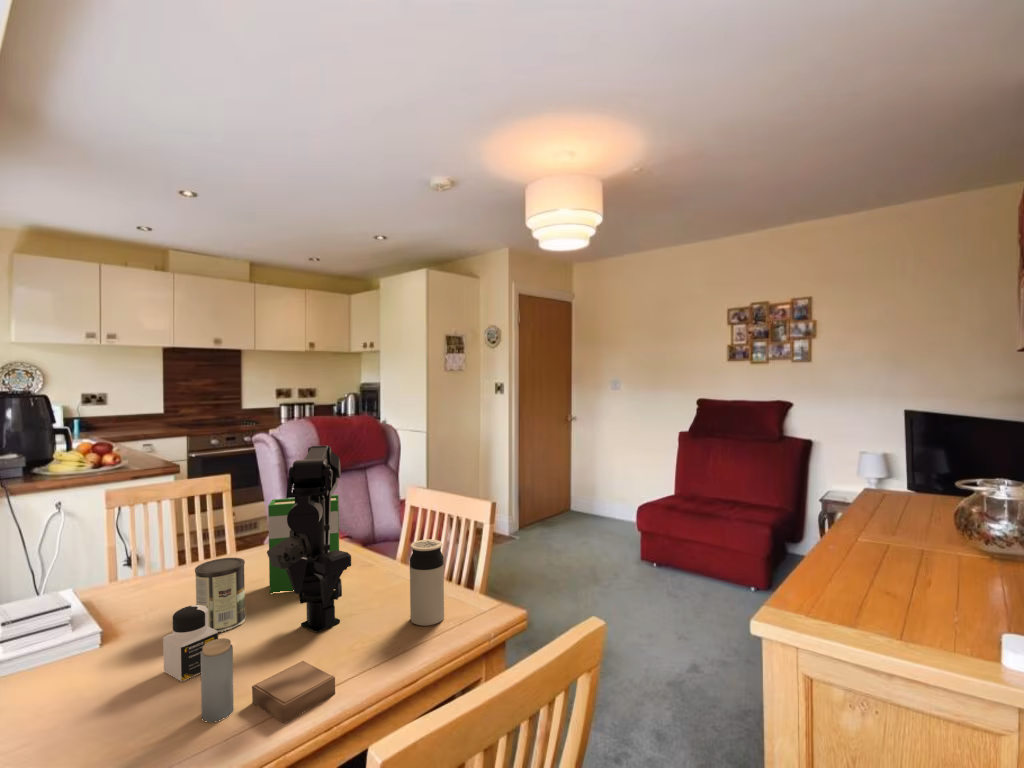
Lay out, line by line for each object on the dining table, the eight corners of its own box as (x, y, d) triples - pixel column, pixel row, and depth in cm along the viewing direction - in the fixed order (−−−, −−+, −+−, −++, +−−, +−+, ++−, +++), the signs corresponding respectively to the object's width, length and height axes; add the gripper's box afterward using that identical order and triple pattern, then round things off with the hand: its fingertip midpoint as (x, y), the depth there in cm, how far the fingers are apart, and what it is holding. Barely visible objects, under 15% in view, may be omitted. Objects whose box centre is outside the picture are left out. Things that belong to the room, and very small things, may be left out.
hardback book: (339, 576, 152) (338, 494, 152) (338, 586, 145) (337, 500, 145) (273, 584, 147) (272, 499, 147) (269, 594, 140) (268, 505, 140)
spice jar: (196, 715, 90) (195, 646, 89) (225, 701, 93) (224, 634, 93) (209, 726, 87) (208, 654, 87) (238, 711, 91) (237, 642, 91)
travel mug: (437, 628, 120) (436, 550, 120) (405, 625, 122) (404, 548, 122) (448, 613, 128) (447, 539, 128) (418, 610, 130) (417, 538, 129)
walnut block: (252, 702, 93) (252, 685, 93) (303, 676, 101) (302, 659, 101) (284, 723, 87) (283, 704, 87) (335, 693, 95) (335, 676, 95)
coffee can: (226, 611, 130) (225, 554, 130) (255, 618, 126) (254, 560, 126) (185, 629, 121) (184, 568, 121) (215, 638, 117) (214, 575, 117)
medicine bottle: (181, 683, 99) (180, 620, 99) (163, 672, 103) (162, 611, 103) (219, 665, 105) (218, 606, 105) (200, 655, 109) (199, 598, 109)
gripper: (247, 524, 106) (247, 602, 105) (303, 537, 95) (304, 623, 95) (296, 513, 115) (297, 585, 115) (352, 523, 105) (353, 602, 104)
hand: (311, 598), depth 107 cm, fingers open, 9 cm apart
